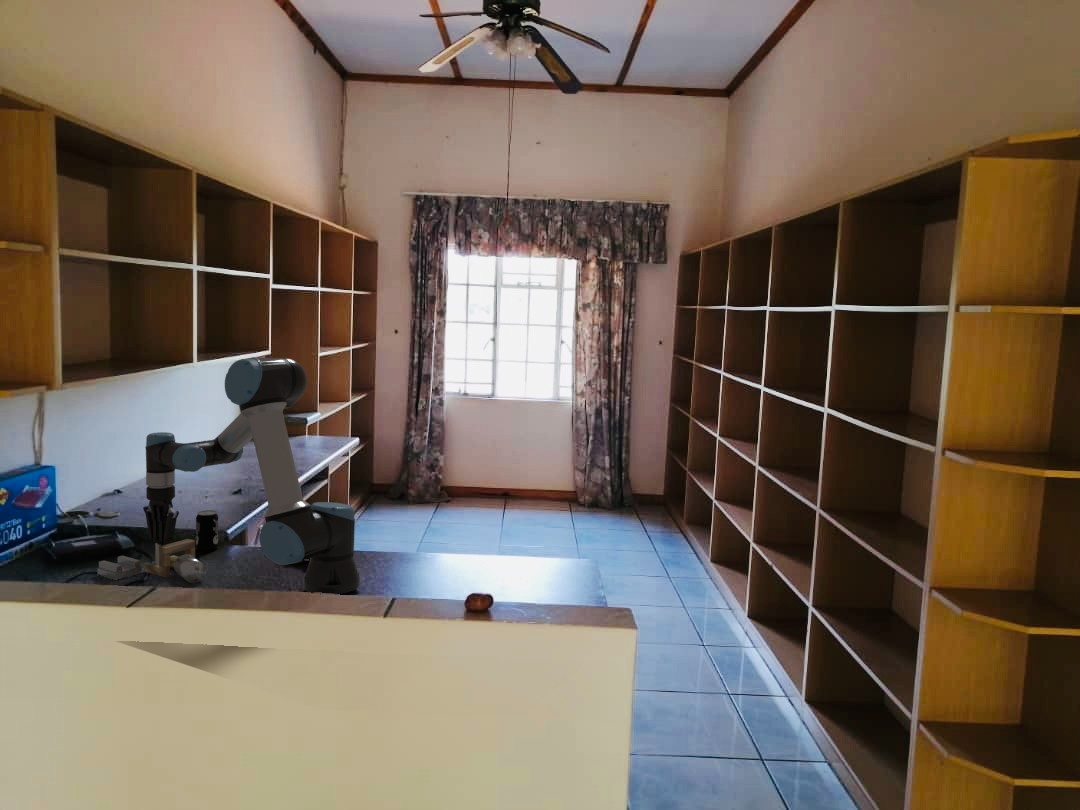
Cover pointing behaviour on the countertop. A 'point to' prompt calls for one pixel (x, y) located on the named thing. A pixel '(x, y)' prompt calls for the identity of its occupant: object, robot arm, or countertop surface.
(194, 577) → the grey rounded piece
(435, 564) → the countertop surface
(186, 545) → the tan wooden angular frame
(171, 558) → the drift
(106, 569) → the v block
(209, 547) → the beverage can
